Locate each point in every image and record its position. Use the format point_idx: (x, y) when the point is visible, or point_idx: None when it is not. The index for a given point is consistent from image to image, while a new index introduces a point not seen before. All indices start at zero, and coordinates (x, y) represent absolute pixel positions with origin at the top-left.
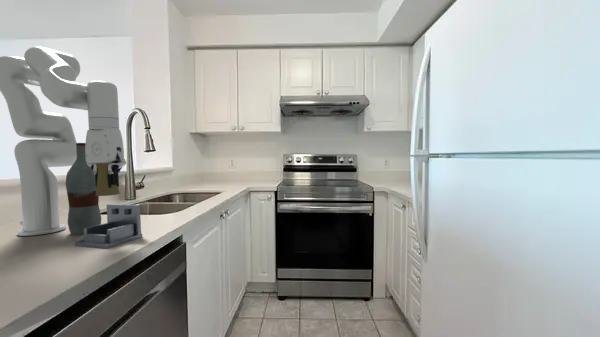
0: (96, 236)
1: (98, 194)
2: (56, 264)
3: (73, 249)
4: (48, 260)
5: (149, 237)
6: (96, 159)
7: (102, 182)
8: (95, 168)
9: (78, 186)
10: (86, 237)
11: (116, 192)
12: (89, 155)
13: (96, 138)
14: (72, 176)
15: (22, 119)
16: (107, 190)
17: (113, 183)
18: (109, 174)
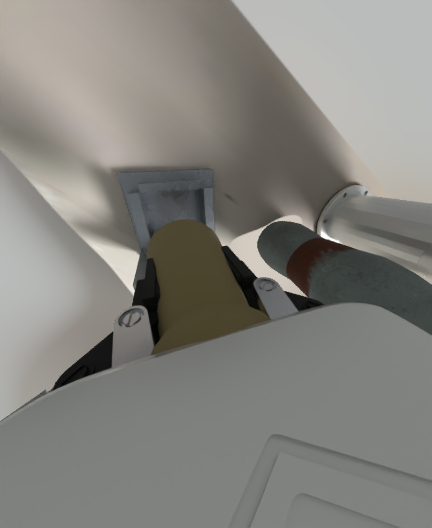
0: (163, 182)
1: (182, 222)
2: (75, 4)
3: (184, 144)
4: (143, 42)
5: (125, 258)
6: (257, 371)
7: (172, 253)
8: (273, 303)
9: (345, 267)
10: (193, 180)
11: None
12: (429, 394)
13: None
14: (395, 277)
15: None
16: (153, 246)
17: (137, 280)
18: (144, 303)
